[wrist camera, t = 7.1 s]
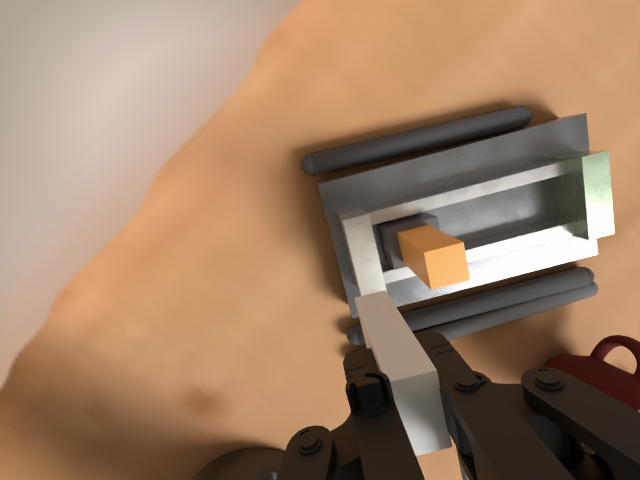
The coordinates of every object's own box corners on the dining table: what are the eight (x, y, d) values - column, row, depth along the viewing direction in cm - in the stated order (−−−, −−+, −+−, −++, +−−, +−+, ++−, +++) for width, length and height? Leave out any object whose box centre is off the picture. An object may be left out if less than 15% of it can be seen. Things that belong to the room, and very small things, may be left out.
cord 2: (351, 364, 35) (353, 373, 33) (346, 350, 35) (348, 359, 33) (590, 290, 34) (603, 296, 33) (587, 275, 34) (601, 280, 32)
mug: (542, 308, 35) (636, 365, 25) (617, 318, 35) (737, 378, 25) (513, 401, 37) (588, 487, 27) (584, 409, 37) (683, 496, 28)
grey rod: (348, 341, 34) (350, 350, 33) (344, 324, 34) (346, 333, 32) (584, 279, 34) (600, 286, 32) (583, 262, 34) (598, 267, 32)
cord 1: (304, 176, 31) (304, 177, 29) (299, 156, 30) (299, 155, 29) (524, 126, 31) (537, 124, 29) (522, 105, 30) (535, 101, 29)
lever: (387, 261, 29) (419, 299, 21) (378, 224, 29) (409, 249, 20) (433, 249, 29) (484, 282, 21) (426, 212, 28) (476, 232, 20)
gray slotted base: (348, 304, 34) (357, 334, 28) (316, 182, 31) (319, 186, 25) (572, 246, 33) (629, 264, 27) (559, 117, 31) (619, 107, 25)
